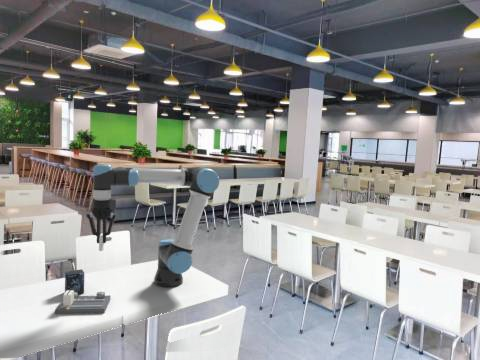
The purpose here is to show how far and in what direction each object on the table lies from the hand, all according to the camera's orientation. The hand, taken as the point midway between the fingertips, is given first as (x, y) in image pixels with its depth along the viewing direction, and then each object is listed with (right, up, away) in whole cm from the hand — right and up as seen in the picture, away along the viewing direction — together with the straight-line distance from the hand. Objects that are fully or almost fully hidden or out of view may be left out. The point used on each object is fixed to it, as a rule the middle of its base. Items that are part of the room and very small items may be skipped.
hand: (101, 250), depth 171 cm
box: (-17, -23, +10) cm, 30 cm away
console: (-6, -25, -4) cm, 26 cm away
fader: (-12, -22, -7) cm, 26 cm away
